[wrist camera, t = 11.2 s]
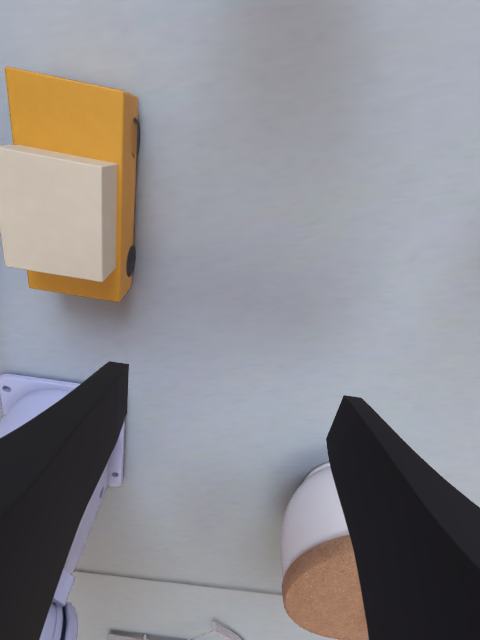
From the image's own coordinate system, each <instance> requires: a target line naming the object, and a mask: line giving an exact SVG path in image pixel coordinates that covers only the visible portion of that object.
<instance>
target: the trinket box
mask: <svg viewBox="0 0 480 640" xmlns="http://www.w3.org/2000/svg"><path fill="white" fill-rule="evenodd" d="M281 561H282V573H283V583H282V593H283V602H284V608H285V610H286V612H287V614H288V615H289V617H290V618H291V619H292V620H293V621H294V622H295V623H296V624H298V625H299V626H300V627H302V628H304V629H305V630H307V631H309V632H312V633H315V634H317V635H320V636H324V637H328V638H334V639H339V640H369V637H368V630H367V623H366V617H365V611H364V605H363V599H362V593H361V587H360V582H359V576H358V571H357V566H356V560H355V555H354V550H353V546H352V542H351V538H350V535H349V531H348V528H347V524H346V521H345V517H344V514H343V510H342V507H341V503H340V500H339V497H338V493H337V490H336V486H335V482H334V479H333V475H332V472H331V468H330V462H328V463H325V464H323V465H321V466H318V467H317V468H315V469H314V470H312V471H311V472H310V473H309V474H308V475H307V476H306V478H305V479H304V481H303V483H302V484H301V485H300V486H299V487H298V489H297V490H296V491H295V493H294V494H293V496H292V498H291V500H290V502H289V504H288V506H287V509H286V512H285V516H284V520H283V528H282V536H281Z"/></svg>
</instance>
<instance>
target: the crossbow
mask: <svg viewBox="0 0 480 640" xmlns="http://www.w3.org/2000/svg"><path fill="white" fill-rule="evenodd" d="M212 632H213V633H216V634H218V635H220V636H222V637H224V638H226V639H228V640H242V639H241V638H240V637H239V636H238V635H236V634H235V633H233V632H232V631H230V630H229V629H227V628H225V627H223V626H221V625H219V624H217V623H216V622H212V631H211V632H208V633H205V634H202V635H199V636H196V637H193V638H190V639H187V640H191V639H194V638H197V637H200V636H203V635H206V634H209V633H212ZM107 640H136V639H134V638H130V637H124V636H118V635H112V634H108V638H107ZM143 640H146V634H144V636H143ZM149 640H150V639H149Z"/></svg>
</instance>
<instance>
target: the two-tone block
mask: <svg viewBox="0 0 480 640" xmlns="http://www.w3.org/2000/svg"><path fill="white" fill-rule="evenodd" d="M5 73H6V82H7V91H8V100H9V109H10V119H11V128H12V137H13V145H0V232H1V239H2V246H3V253H4V260H5V266H6V267H12V268H18V269H24V270H27V272H28V281H29V287H30V288H33V289H39V290H45V291H52V292H58V293H64V294H71V295H77V296H83V297H90V298H96V299H102V300H109V301H115V302H120V301H121V299H122V298H123V297H124V295H125V294H126V293H127V291H128V290H129V289H130V287H131V286H132V272H133V269H134V264H135V247H134V245H133V233H134V206H135V178H136V156H137V153H138V149H139V143H140V127H139V121H138V97H136V96H134V95H132V94H129V93H127V92H125V91H122V90H118V89H113V88H108V87H103V86H98V85H93V84H89V83H84V82H79V81H74V80H69V79H65V78H60V77H55V76H50V75H45V74H40V73H36V72H31V71H26V70H21V69H16V68H11V67H5Z"/></svg>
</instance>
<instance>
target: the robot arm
mask: <svg viewBox="0 0 480 640" xmlns="http://www.w3.org/2000/svg"><path fill="white" fill-rule="evenodd" d="M128 370H129V364H124V363H117V362H108V363H107V364H105V365H104V366H103V367H101V368H100V369H99V370H98V371H96V372H95V373H94V374H93V375H92V376H90V377H89V378H88V379H87V380H85V381H84V382H83V383H81V384H80V383H73V382H65V381H58V380H51V379H44V378H37V377H29V376H22V375H15V374H3V375H1V376H0V396H1V402H2V407H3V413H4V417H3V419H2V420H1V421H0V640H77V635H78V617H77V612H76V609H75V607H74V606H73V605H72V604H71V603H70V602H67V599H68V596H69V593H70V591H71V588H72V585H73V583H74V580H75V576H74V575H72V572H73V570H74V569H75V567H76V565H77V563H78V561H79V559H80V556H81V554H82V551H83V548H84V546H85V543H86V541H87V538H88V535H89V533H90V530H91V528H92V525H93V522H94V520H95V517H96V514H97V512H98V509H99V507H100V504H101V501H102V499H103V496H104V494H105V491H106V488H107V486H108V487H119V486H121V484H122V481H123V461H124V431H125V417H126V414H127V397H128ZM7 386H8V387H9V388H8V387H7ZM326 441H327V448H328V456H329V462H330V468H331V472H332V475H333V479H334V482H335V486H336V490H337V493H338V497H339V500H340V503H341V507H342V510H343V514H344V517H345V521H346V524H347V528H348V531H349V535H350V538H351V542H352V546H353V550H354V555H355V560H356V566H357V571H358V576H359V582H360V587H361V593H362V599H363V605H364V611H365V617H366V623H367V630H368V637H369V640H480V508H479V507H478V506H477V505H475V504H474V503H473V502H472V501H470V500H469V499H468V498H467V497H465V496H464V495H463V494H462V493H461V492H459V491H458V490H457V489H456V488H454V487H453V486H452V485H451V484H450V483H448V482H447V481H446V480H445V479H444V478H443V477H442V476H440V475H439V474H438V473H437V472H436V471H435V470H434V469H433V468H432V467H430V466H429V465H428V464H427V463H426V462H425V461H424V460H423V459H422V458H421V457H420V456H419V455H418V454H417V453H416V452H415V451H413V450H412V449H411V448H410V447H409V446H408V445H407V444H406V443H405V442H404V441H403V440H402V439H401V438H400V437H399V436H398V435H397V434H396V433H395V431H394V430H393V429H392V428H391V427H390V426H389V425H388V424H387V423H386V422H385V421H384V420H383V419H382V418H381V417H380V416H379V415H378V414H377V413H376V412H375V411H374V410H373V409H372V408H371V407H370V406H369V405H368V404H367V403H366V402H365V401H364V400H363V399H362V398H358V397H351V396H345V395H344V396H343V399H342V401H341V404H340V406H339V409H338V411H337V414H336V416H335V419H334V421H333V424H332V426H331V428H330V431H329V433H328V436H327V438H326Z"/></svg>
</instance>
